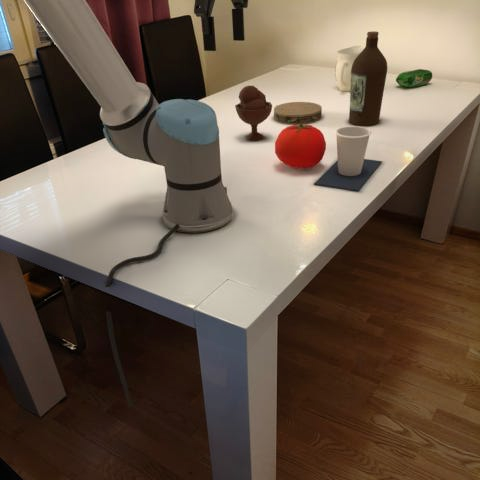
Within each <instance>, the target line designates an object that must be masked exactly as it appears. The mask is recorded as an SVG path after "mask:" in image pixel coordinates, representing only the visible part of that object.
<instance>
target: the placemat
mask: <svg viewBox="0 0 480 480" xmlns="http://www.w3.org/2000/svg"><path fill="white" fill-rule="evenodd" d="M382 162H383V161H382V160H374V159H369V158H368V159H367V158H364V161H363V166H362V170H361V173H360V174H359V175H355V176H345V175H341V174H339V173H338V159H337V160H336V161H335V162H334V163H333V164H332V165H331V166H330V167H328V169H327V170H326V171H325V172H323V174H322V175H321V176H320V177H319V178H318V179H317V180H316V181H314V183H313V184H314V186H320V187H325V188H326V187H327V188H332V189H337V190H338V189H339V190H345V191H351V192H360V190H361V189H362V188H363V187H364V185H365V184H366V183H367V182H368V180H369V179H370V178H371V176H372V175H373V174H374V173H375V172H376V171H377V169H379V166H380V165H381V164H382Z"/></svg>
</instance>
